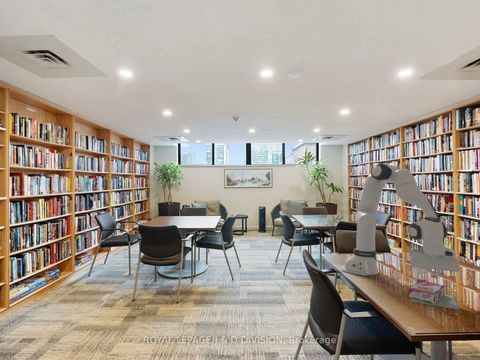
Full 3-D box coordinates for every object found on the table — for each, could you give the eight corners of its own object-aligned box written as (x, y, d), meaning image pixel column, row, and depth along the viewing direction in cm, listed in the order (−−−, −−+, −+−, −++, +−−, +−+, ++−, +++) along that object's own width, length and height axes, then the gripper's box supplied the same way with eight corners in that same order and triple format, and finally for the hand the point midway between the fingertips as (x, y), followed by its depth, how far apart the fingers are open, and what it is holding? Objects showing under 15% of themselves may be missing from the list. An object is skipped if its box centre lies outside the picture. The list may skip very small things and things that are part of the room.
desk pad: (411, 301, 132) (411, 300, 132) (410, 290, 147) (410, 289, 147) (459, 310, 123) (459, 308, 123) (453, 296, 137) (453, 295, 137)
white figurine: (410, 278, 164) (410, 258, 165) (411, 277, 168) (410, 257, 168) (429, 281, 159) (428, 260, 160) (429, 279, 163) (428, 259, 163)
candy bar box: (444, 284, 139) (435, 293, 128) (444, 294, 139) (435, 304, 128) (419, 279, 147) (408, 287, 136) (419, 288, 147) (408, 297, 136)
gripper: (409, 249, 141) (410, 276, 141) (459, 253, 131) (460, 283, 130) (408, 246, 147) (409, 273, 146) (457, 250, 136) (458, 279, 136)
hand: (434, 277), depth 138 cm, fingers closed
